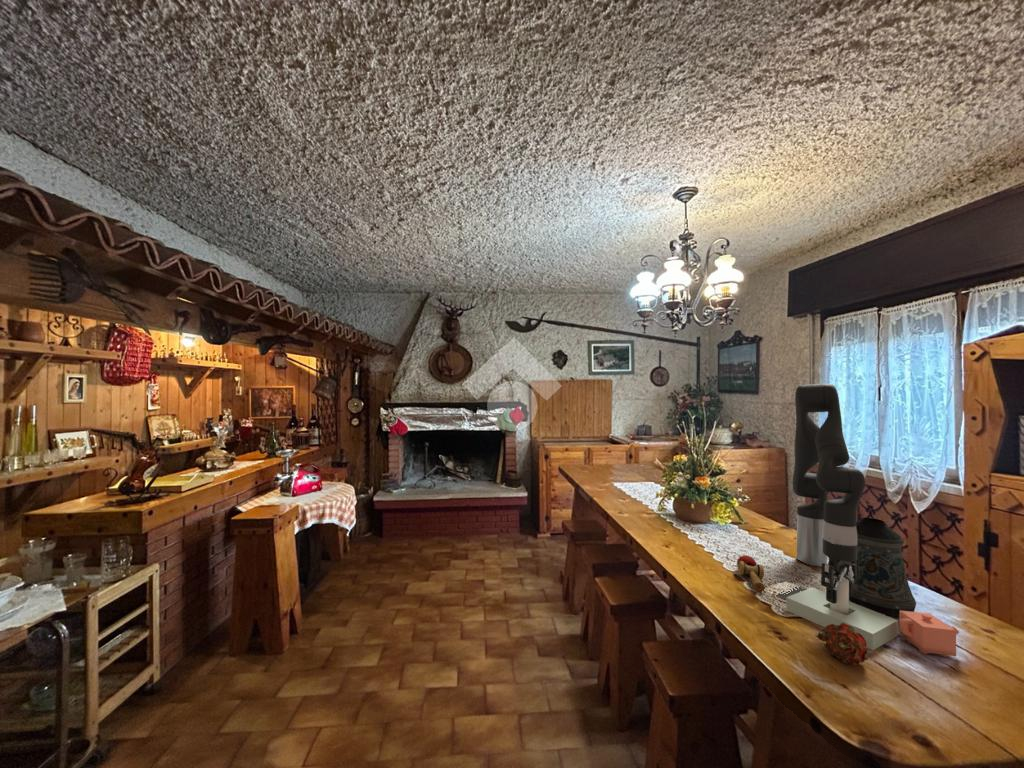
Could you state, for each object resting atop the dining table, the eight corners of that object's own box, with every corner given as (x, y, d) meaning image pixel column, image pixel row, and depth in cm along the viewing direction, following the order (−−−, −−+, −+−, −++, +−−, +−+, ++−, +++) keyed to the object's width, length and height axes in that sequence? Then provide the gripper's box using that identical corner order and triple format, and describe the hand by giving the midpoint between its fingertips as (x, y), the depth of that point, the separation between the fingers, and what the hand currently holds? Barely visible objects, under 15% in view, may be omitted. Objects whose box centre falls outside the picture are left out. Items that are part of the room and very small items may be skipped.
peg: (834, 617, 115) (834, 574, 115) (851, 624, 112) (851, 580, 112) (827, 620, 113) (827, 577, 113) (844, 628, 110) (844, 583, 110)
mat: (785, 581, 137) (785, 580, 137) (818, 594, 128) (818, 593, 128) (760, 590, 130) (760, 589, 130) (794, 604, 121) (794, 603, 122)
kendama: (776, 597, 127) (758, 567, 144) (772, 578, 127) (755, 550, 144) (748, 598, 129) (734, 569, 147) (745, 579, 129) (731, 552, 146)
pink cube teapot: (972, 662, 96) (972, 627, 97) (912, 655, 99) (912, 620, 99) (944, 643, 104) (944, 610, 104) (890, 636, 106) (890, 604, 107)
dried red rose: (851, 682, 91) (831, 658, 102) (889, 665, 89) (864, 643, 100) (823, 643, 94) (806, 624, 105) (858, 626, 92) (837, 609, 103)
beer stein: (932, 622, 113) (932, 532, 114) (852, 613, 117) (852, 526, 118) (890, 594, 130) (890, 515, 130) (821, 587, 134) (821, 510, 134)
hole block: (812, 600, 124) (812, 587, 124) (897, 635, 107) (897, 620, 107) (786, 611, 118) (786, 597, 118) (872, 650, 100) (872, 634, 100)
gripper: (836, 531, 119) (836, 587, 119) (810, 538, 113) (810, 598, 112) (868, 540, 113) (868, 599, 112) (842, 548, 106) (842, 611, 106)
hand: (839, 598), depth 112 cm, fingers open, 8 cm apart
